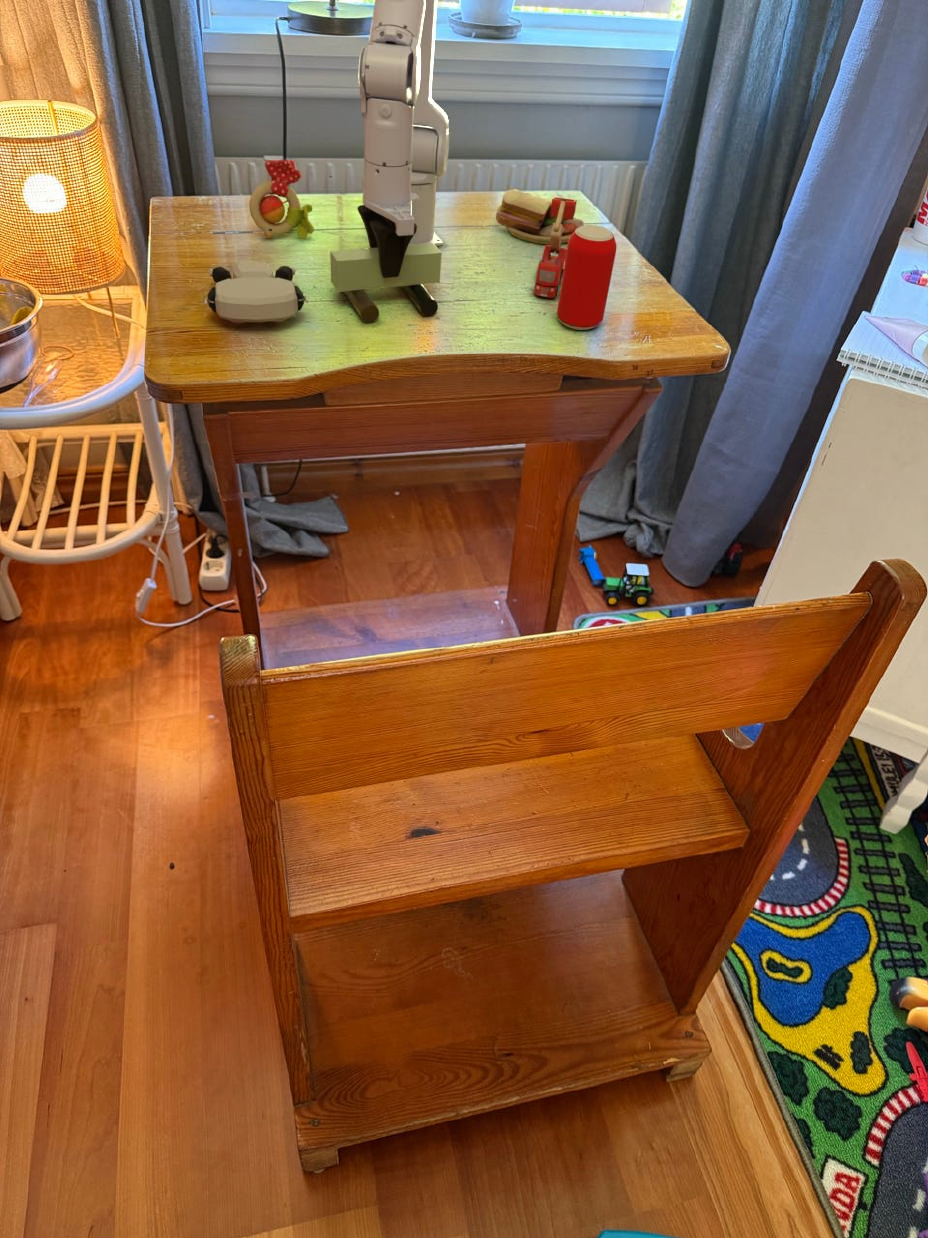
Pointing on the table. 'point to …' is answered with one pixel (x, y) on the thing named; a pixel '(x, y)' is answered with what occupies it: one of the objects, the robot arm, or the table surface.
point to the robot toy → (254, 293)
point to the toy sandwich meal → (532, 218)
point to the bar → (365, 273)
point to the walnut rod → (363, 305)
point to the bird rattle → (280, 202)
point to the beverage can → (586, 277)
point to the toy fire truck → (550, 264)
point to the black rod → (422, 299)
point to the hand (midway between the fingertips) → (385, 270)
